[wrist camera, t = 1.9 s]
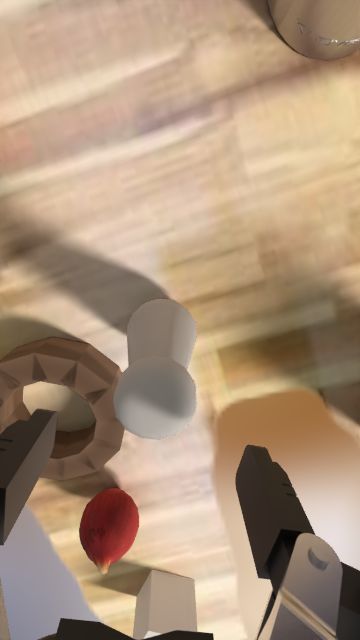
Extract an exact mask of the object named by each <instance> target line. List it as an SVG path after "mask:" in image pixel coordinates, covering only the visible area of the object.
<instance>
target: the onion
mask: <svg viewBox="0 0 360 640" xmlns="http://www.w3.org/2000/svg"><path fill="white" fill-rule="evenodd" d="M138 527H139V514H138V508H137V506H136V504H135V503H134V501H133V499H132V498H131V496H129V495H128V494H126V493H125V492H124V491H123V490H120V489H118V488H111V489H108V490H105V491H102V492H100V493H99V494H97V495H96V496H95V497H94V498H93V499H92V500H91V501H90V502H89V503H88V504H87V505H86V508H85V510H84V512H83V515H82V519H81V523H80V528H79V537H80V541H81V544H82V546H83V549H84V550H85V552H86V554H87V556H88V558H89V559H90V560H91V561H93V562H94V563H95V565H96V566H97V567H98V570H99V572H100V573H101V574H107V572H108V567H109V564H112V563H114V562H116V561H118V560H119V559H120V558H121V557H122V556H123V555H124V554H125V553H126V552H127V551H128V550H129V549H130V547H131V546H132V544H133V542H134V540H135V537H136V534H137V531H138Z"/></svg>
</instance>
